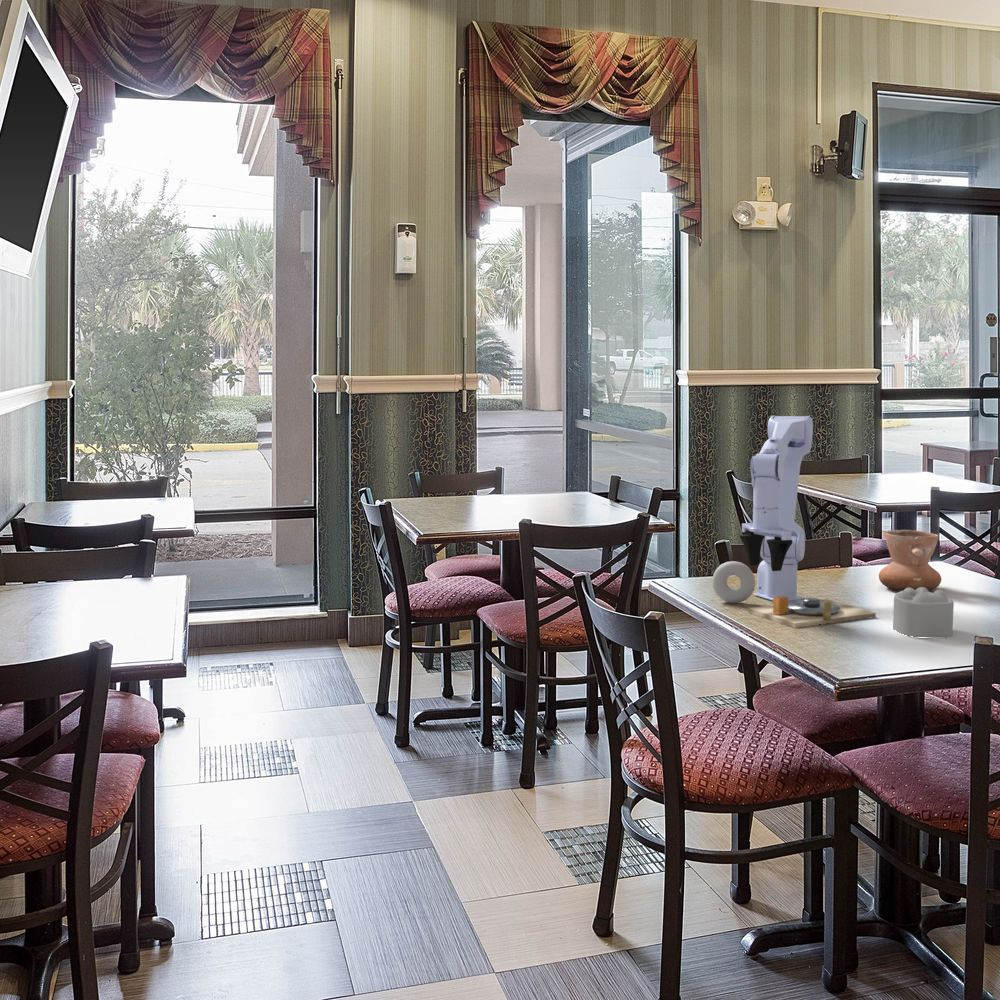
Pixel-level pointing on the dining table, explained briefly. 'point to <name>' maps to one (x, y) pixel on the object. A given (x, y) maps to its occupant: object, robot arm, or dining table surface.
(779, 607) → the flange plate
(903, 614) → the lumpy-topped squat cylinder
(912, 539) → the ceramic jug
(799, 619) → the board
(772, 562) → the robot arm
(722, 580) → the donut
